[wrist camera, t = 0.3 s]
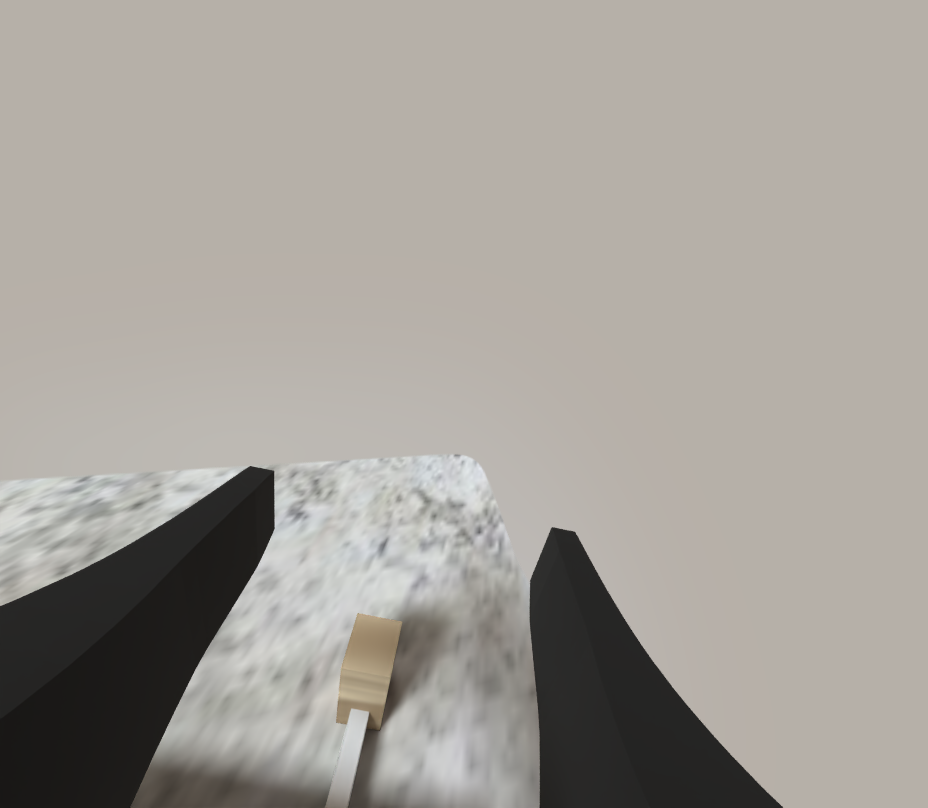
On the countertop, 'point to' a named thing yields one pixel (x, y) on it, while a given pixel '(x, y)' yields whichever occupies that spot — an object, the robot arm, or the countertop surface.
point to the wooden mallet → (362, 695)
